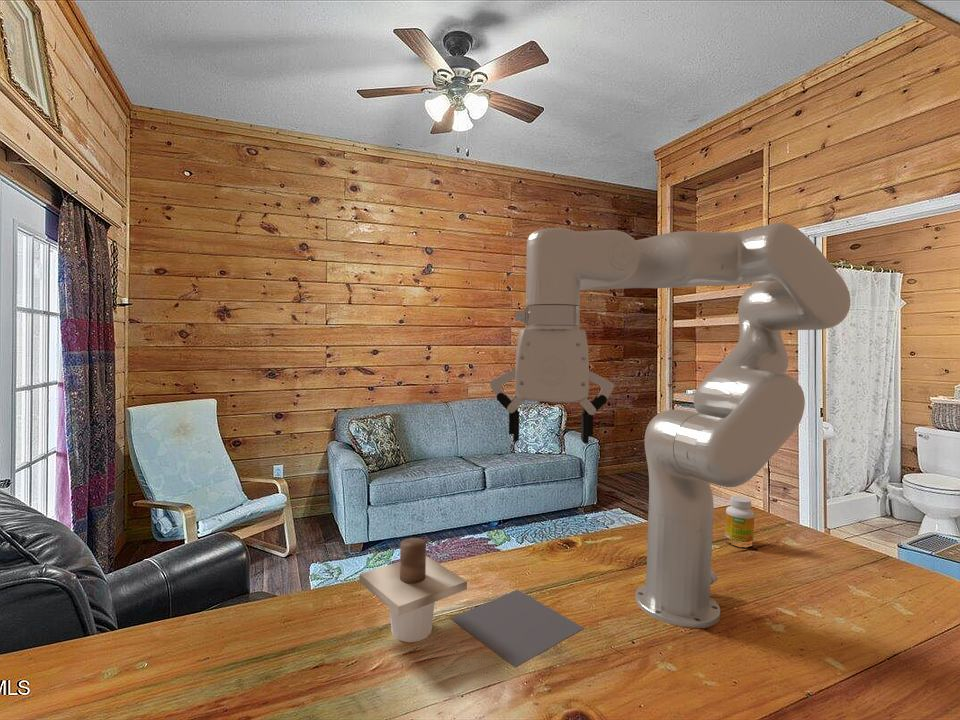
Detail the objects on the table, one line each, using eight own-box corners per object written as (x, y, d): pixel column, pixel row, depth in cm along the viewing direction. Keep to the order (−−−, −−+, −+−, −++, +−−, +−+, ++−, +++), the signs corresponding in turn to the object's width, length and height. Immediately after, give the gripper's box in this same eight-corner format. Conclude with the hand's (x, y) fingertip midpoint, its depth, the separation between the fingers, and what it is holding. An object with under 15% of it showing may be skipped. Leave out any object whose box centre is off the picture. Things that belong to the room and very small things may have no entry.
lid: (423, 561, 78) (424, 523, 78) (466, 589, 70) (467, 546, 70) (359, 582, 71) (360, 539, 71) (398, 615, 63) (399, 567, 63)
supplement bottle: (729, 547, 103) (731, 501, 103) (721, 537, 109) (723, 493, 108) (757, 550, 102) (759, 503, 102) (747, 539, 108) (749, 495, 107)
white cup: (427, 651, 67) (428, 600, 67) (379, 644, 68) (380, 594, 68) (441, 623, 74) (442, 577, 73) (397, 617, 75) (398, 571, 75)
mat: (517, 592, 83) (517, 589, 83) (584, 631, 72) (584, 628, 72) (449, 621, 74) (449, 618, 74) (514, 670, 63) (515, 666, 63)
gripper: (488, 318, 67) (487, 444, 67) (620, 319, 65) (617, 448, 66) (492, 320, 74) (491, 433, 75) (610, 321, 72) (607, 437, 73)
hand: (550, 440), depth 70 cm, fingers open, 9 cm apart
